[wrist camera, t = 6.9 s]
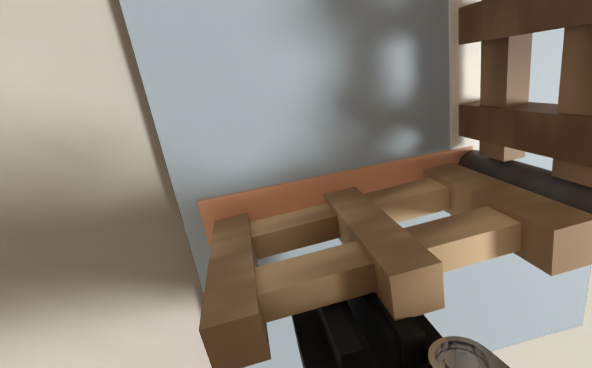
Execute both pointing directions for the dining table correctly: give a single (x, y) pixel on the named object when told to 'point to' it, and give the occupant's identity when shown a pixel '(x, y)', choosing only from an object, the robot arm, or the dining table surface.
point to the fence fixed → (515, 94)
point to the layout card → (335, 132)
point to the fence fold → (376, 253)
